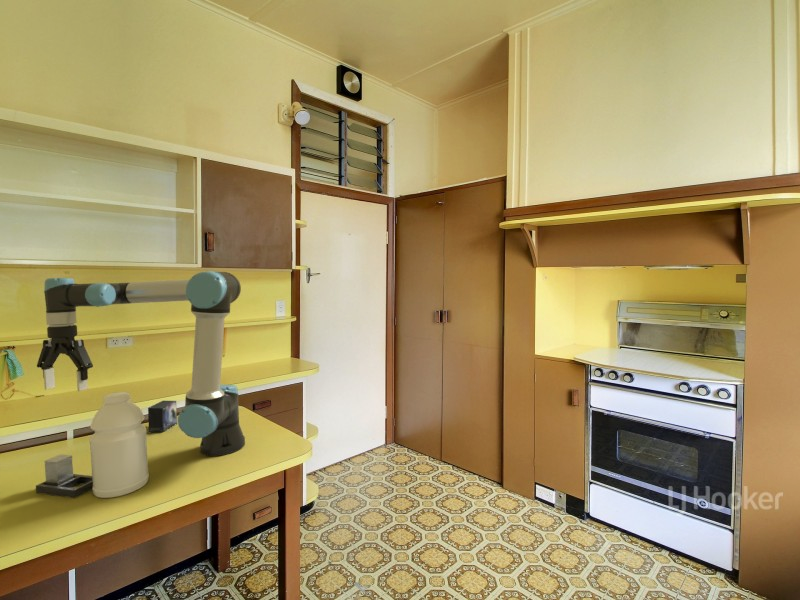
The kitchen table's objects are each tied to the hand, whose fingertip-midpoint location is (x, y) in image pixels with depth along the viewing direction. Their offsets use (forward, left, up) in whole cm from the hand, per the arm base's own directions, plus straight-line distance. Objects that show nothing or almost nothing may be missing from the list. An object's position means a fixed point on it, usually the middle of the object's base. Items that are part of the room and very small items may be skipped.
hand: (66, 389), depth 133 cm
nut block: (-10, +11, -27) cm, 30 cm away
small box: (-1, -37, -27) cm, 46 cm away
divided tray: (-13, +11, -27) cm, 32 cm away
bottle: (-28, +7, -27) cm, 39 cm away
